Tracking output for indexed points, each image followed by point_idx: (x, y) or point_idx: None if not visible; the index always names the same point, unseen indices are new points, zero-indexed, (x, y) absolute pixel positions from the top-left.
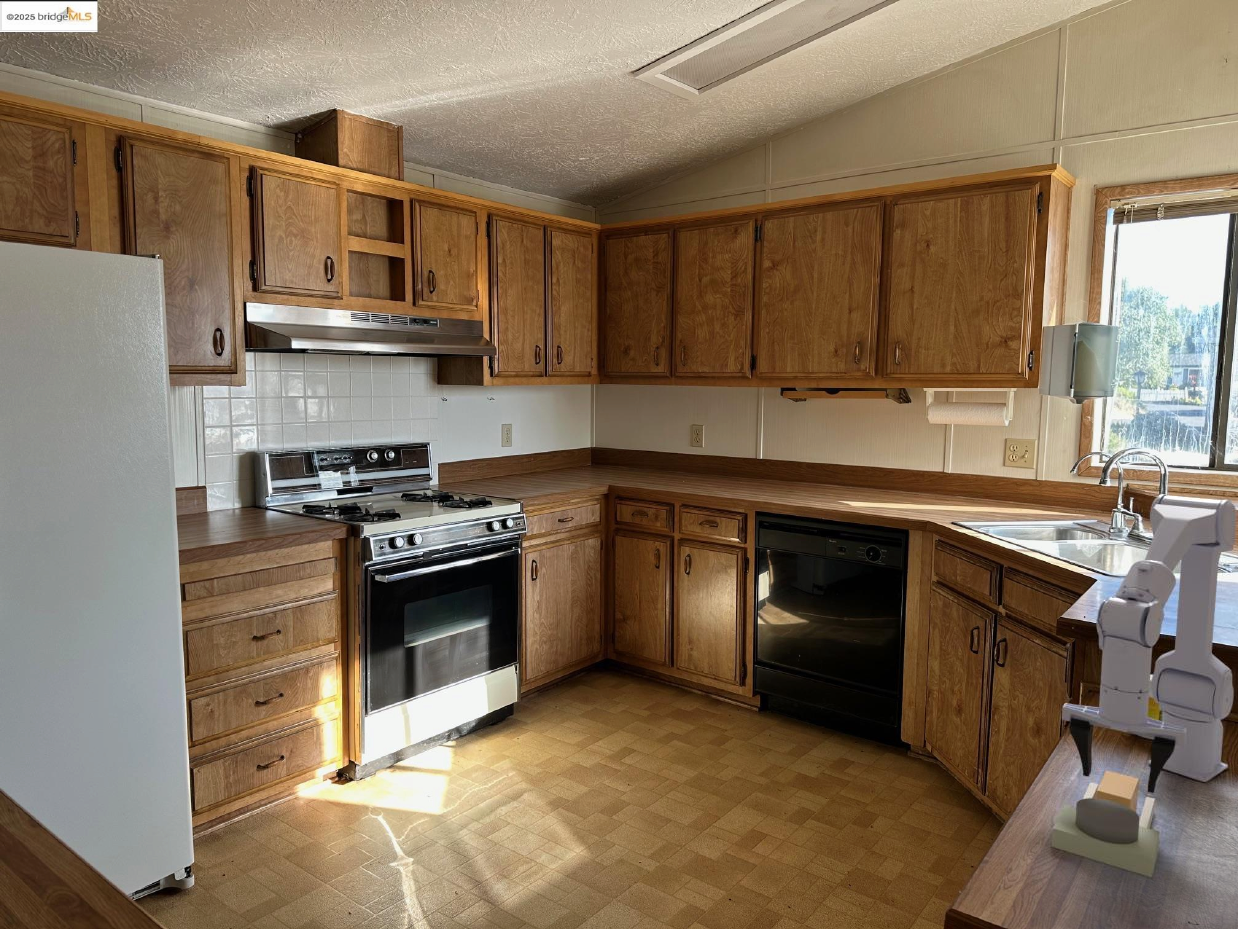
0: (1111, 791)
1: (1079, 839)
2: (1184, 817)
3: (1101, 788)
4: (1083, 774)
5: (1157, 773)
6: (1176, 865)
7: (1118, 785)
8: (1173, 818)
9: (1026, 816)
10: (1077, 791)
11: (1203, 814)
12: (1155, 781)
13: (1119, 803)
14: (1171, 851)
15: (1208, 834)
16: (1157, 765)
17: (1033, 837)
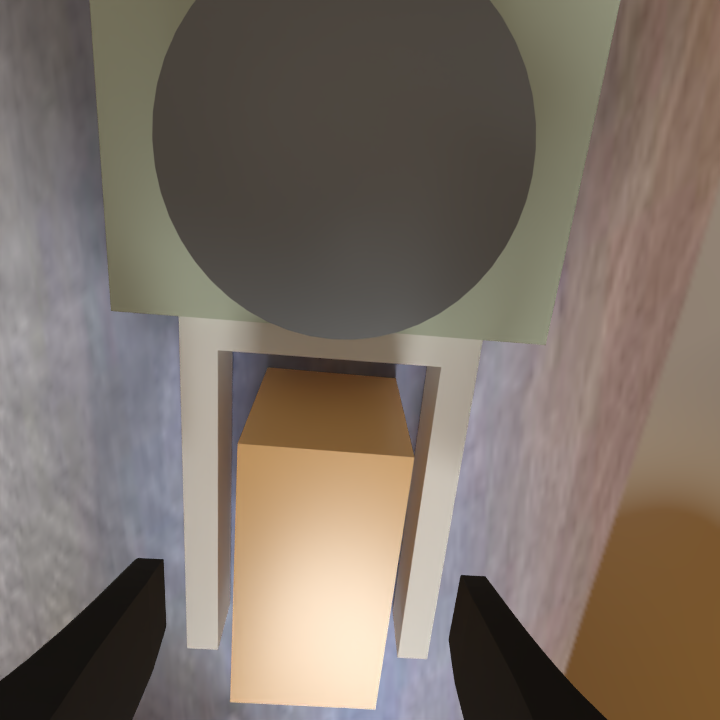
0: (340, 486)
1: None
2: None
3: (391, 496)
4: (488, 582)
5: (45, 651)
6: (63, 185)
7: (311, 580)
8: None
9: (666, 289)
10: None
11: None
12: (89, 607)
13: (297, 428)
14: (102, 313)
15: (14, 540)
16: (3, 705)
17: (653, 74)
